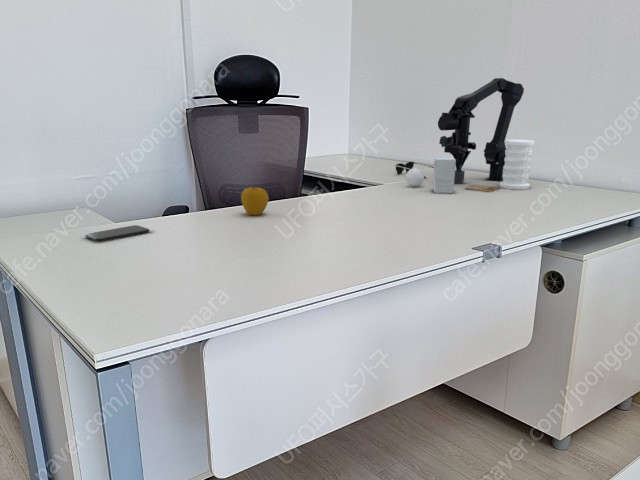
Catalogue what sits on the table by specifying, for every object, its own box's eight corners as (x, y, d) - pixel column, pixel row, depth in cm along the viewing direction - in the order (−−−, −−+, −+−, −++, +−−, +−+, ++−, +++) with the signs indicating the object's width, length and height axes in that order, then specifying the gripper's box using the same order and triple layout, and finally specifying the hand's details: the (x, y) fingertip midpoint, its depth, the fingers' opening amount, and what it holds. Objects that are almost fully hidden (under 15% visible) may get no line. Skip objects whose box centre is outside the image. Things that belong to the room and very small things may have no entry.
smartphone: (136, 227, 173) (83, 237, 162) (136, 224, 172) (83, 234, 162) (151, 232, 167) (97, 242, 157) (150, 229, 167) (97, 239, 156)
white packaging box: (451, 189, 232) (453, 157, 227) (453, 193, 225) (456, 159, 220) (432, 189, 232) (434, 156, 228) (433, 193, 225) (436, 159, 221)
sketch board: (475, 185, 241) (475, 184, 241) (499, 188, 235) (499, 187, 235) (465, 189, 233) (465, 188, 233) (489, 191, 228) (489, 190, 228)
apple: (271, 212, 193) (270, 184, 190) (264, 217, 185) (264, 189, 182) (246, 211, 194) (245, 184, 191) (238, 216, 187) (237, 188, 183)
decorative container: (518, 183, 245) (524, 139, 239) (535, 188, 235) (541, 141, 228) (494, 185, 242) (498, 139, 236) (509, 189, 232) (515, 142, 225)
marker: (456, 175, 247) (458, 153, 244) (461, 176, 246) (463, 154, 243) (454, 176, 246) (456, 154, 243) (459, 176, 245) (461, 154, 242)
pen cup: (454, 181, 250) (455, 169, 248) (465, 182, 248) (466, 170, 246) (449, 183, 247) (450, 171, 245) (460, 184, 244) (461, 172, 242)
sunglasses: (412, 171, 275) (413, 161, 273) (441, 177, 265) (442, 166, 263) (394, 175, 266) (395, 163, 264) (423, 181, 256) (425, 169, 254)
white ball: (427, 187, 238) (428, 168, 235) (413, 188, 234) (414, 169, 231) (411, 183, 246) (412, 165, 243) (397, 185, 242) (398, 166, 239)
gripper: (453, 127, 251) (450, 164, 257) (433, 130, 237) (431, 169, 242) (478, 128, 245) (474, 166, 250) (459, 131, 231) (456, 172, 236)
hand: (458, 168), depth 245 cm, fingers closed on marker, 2 cm apart
